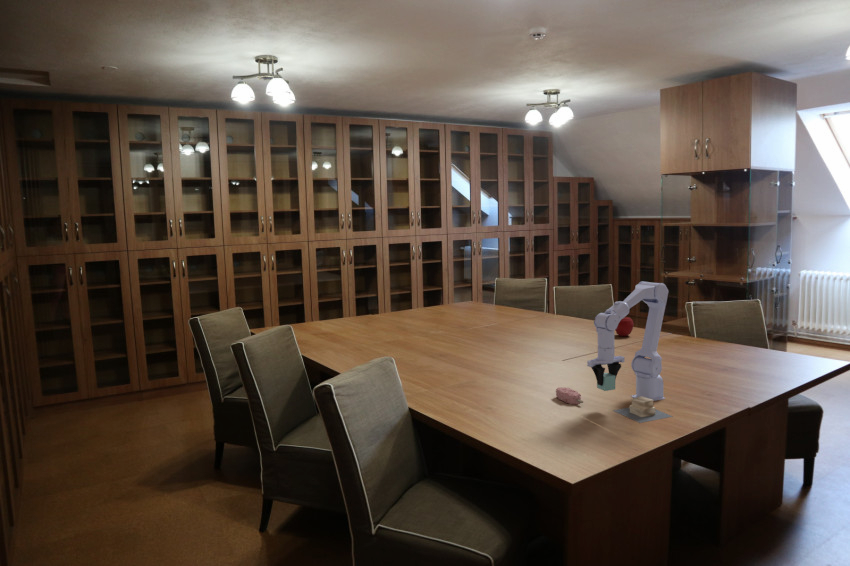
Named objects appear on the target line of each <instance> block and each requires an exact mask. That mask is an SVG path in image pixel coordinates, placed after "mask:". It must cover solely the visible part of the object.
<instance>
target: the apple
mask: <svg viewBox="0 0 850 566" xmlns="http://www.w3.org/2000/svg"><path fill="white" fill-rule="evenodd" d="M633 329H634V321H633V319H632V318H631V317H627V316H625V317H624V318H623V319H621V320H620V322H619V324H618V326H617V328H616V329H615V330H614V332H616V334H617V335H618V336H619V337H627V336H629V335H630V334H631V333H632V331H633Z"/></svg>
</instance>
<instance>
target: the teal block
mask: <svg viewBox="0 0 850 566" xmlns="http://www.w3.org/2000/svg"><path fill="white" fill-rule="evenodd" d="M596 388H597V389H599V390H602V391H603V392H608V391H613V390H616V380H615V375H612V374H610V373H609V372H604V376H603V386H600V385H598V383H597V382H596Z"/></svg>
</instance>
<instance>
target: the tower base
mask: <svg viewBox="0 0 850 566" xmlns="http://www.w3.org/2000/svg"><path fill="white" fill-rule="evenodd" d="M629 407H630V413H633V414H635V415H637V416H640V417H646V416H651V415H655V409H656V407H654V406H653V407H651V408H648V409H644V410H643V409H640V408H636V407H633V406H632V404H630V405H629Z"/></svg>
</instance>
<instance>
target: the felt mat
mask: <svg viewBox="0 0 850 566" xmlns="http://www.w3.org/2000/svg"><path fill="white" fill-rule="evenodd" d="M612 411H613V412H615V413H617V414H620V415H621V416H624V417H626V418H628V419H631V420H633V421H634V422H637V423H639V424H641V423H646V422H648V423H649V422H652V421H656V420H663V419H668V418H672V417H673V415H671V414H668V413H665V412H663V411H661V410H659V409H656V408H655V415H651V416H646V417H640V416H637V415H635V414H633V413H630V406H628V407H625V408H619V409H613V410H612Z"/></svg>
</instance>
